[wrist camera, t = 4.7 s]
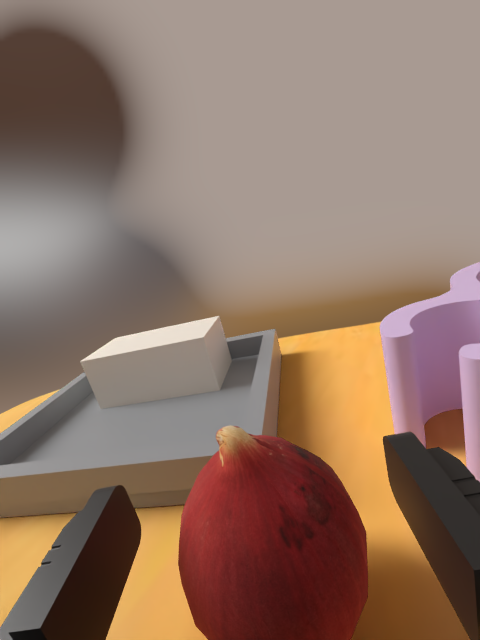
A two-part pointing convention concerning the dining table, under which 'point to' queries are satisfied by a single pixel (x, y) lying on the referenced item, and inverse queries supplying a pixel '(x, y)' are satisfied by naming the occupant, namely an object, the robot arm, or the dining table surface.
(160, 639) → the dining table surface
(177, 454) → the tray
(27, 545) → the dining table surface
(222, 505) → the onion
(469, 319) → the clip
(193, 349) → the white box
